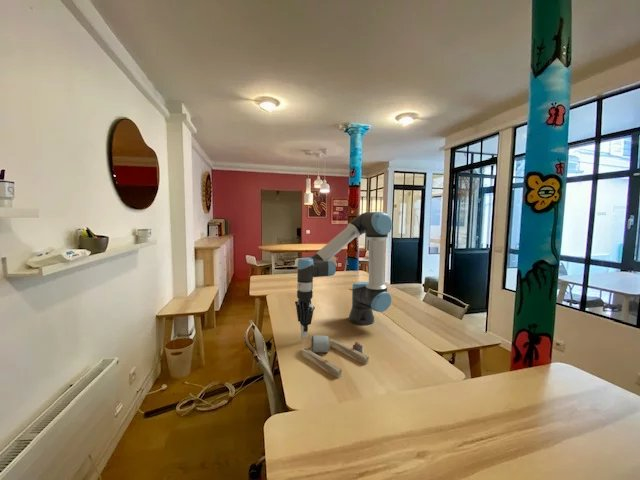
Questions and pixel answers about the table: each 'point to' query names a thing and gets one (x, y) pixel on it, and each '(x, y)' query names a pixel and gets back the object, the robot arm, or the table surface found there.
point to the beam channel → (352, 352)
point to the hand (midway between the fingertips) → (304, 337)
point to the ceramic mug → (320, 343)
